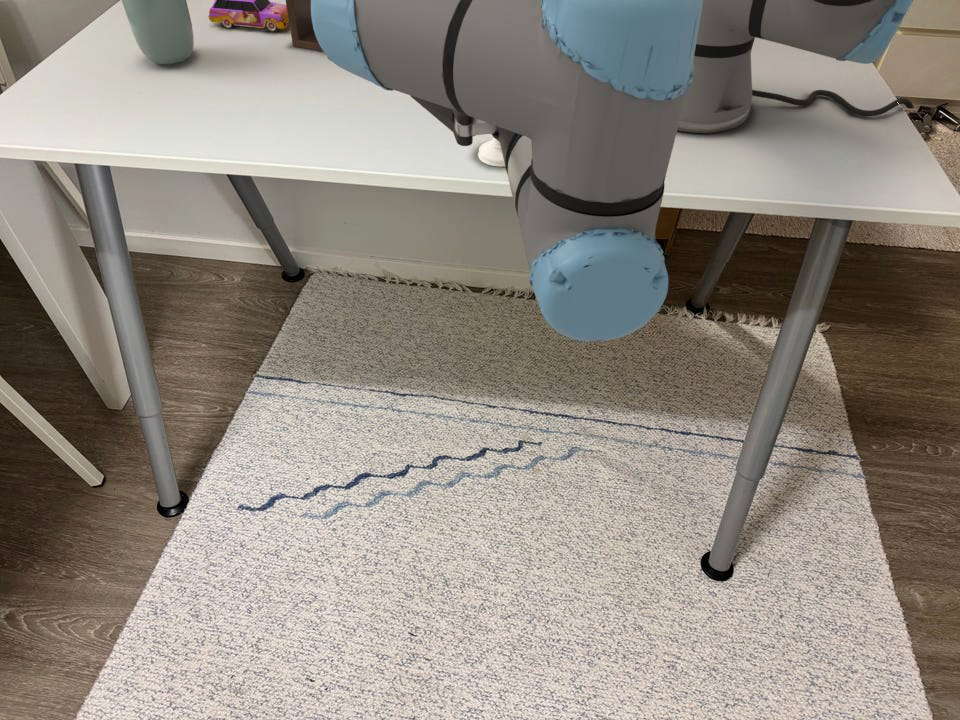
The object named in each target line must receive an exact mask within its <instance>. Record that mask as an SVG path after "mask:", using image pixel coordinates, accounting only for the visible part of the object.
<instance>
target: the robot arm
mask: <svg viewBox="0 0 960 720" xmlns="http://www.w3.org/2000/svg"><path fill="white" fill-rule="evenodd" d="M913 2H914V0H311V17H312V23H313V29H314V32H315V35H316V38H317V40H318V43H319V45H320V46H321V48H322V50H323V51H324V52H323V51H322V52H323V53H324V54H325V55H326V58H327V59H328V60H329V61H331V62H332V63H333V64H334V65H336V66H337V67H338V68H340V69H342V70H344V71H346V72H348V73H350V74H352V75H355V76H356V77H359V78H361V79H363V80H366V81H368V82H370V83H372V84H374V85H375V86H377V87H380V88H381V89H383V90H384V91H391V92H394V91H396V92H399V93H402V94H405V95H408V96H410V98H412V99H413V100H414V101H415V102H417V104H419V105H420V106H421V107H422V108H424V109H425V110H426V111H427V112H428V113H430V114H431V116H433V117H434V118H436V119H437V120H438V121H439V122H440V123H441V124H443V125H444V126H445V127H446V128H447V129H448V130H450V131H451V132H452V133H453V137H454V139H455V141H456V143H457V145H459V146H462V147H468V146H472V144H473V142H474V141H473V140H474V139H473V137H475V136H483V135H491V136H492V138H493V137H494V138H495V139H497V140H498V141H499V142H500V145H501V150H502V154H503V158H504V163H505V166H504V167H505V171H506V175H507V180H508V183H509V188H510V192H511V197H512V201H513V206H514V210H515V213H516V215H517V219H518V224H519V225H518V226H519V229H520V234H521V238H522V244H523V248H524V252H525V257H526V262H527V266H528V270H529V275H528V283H529V286H530V287H531V289H532V291H533V293H534V295H535V296H534V297H535V298H536V300H537V304H538V306H539V309H540V312H541V314H542V316H543V318H544V321H546V323H547V324H549V326H550V327H551V328H552V329H553V330H554V331H556V332H557V333H559V334H560V335H562V336H564V337H566V338H569V339H572V340H575V341H581V342H587V343H589V342H599V341H607V342H608V341H613V340H617V339H620V338H623V337H626V336H628V335H630V334H632V333H635V332H636V331H637V330H639V329H641V328H642V327H644V326H646V325H647V324H648V323H649V322H650V321H651V320H652V319H653V318H654V317H655V315H656V314H657V313H658V312H659V311H660V309H662V308H661V307H662V306H663V304H664V302H665V300H666V297H667V296H668V295H667V294H668V291H669V274H668V270H667V267H666V263H665V255H664V253H665V252H664V251H663V248H662V246H661V245H660V244H659V242H657V239H656V229H657V224H658V219H659V214H660V212H661V211H660V210H661V207H662V202H663V198H664V195H665V194H664V192H665V181H666V177H667V172H668V168H669V164H670V161H671V158H672V152H673V149H674V144H675V140H676V138H677V137H676V136H677V133H678V132H684V133H692V134H695V133H696V134H712V133H721V132H725V131H729V130H732V129H734V128H736V127H738V126H740V125H742V124H743V123H744V122H746V120H747V119H748V116H749V113H750V110H751V108H752V101H753V97H756V98H757V97H758V98H763V99H767V100H768V99H770V100H774V101H778V102H783V103H786V104H790V105H793V106H808V105H810V104H811V103H812V102H813V101H814V100H815V99H816V97H818V96H821V97H822V96H823V97H827V98H830V99H832V100H834V101H835V102H837V103H838V104H839V105H840V106H841V107H843V108H844V109H845V110H847V111H848V112H850V113H851V114H855V115H857V116H861V117H876V116H877V117H878V116H879V115H883V114H885V113H887V112H889V111H891V110H892V109H894V108H896V107H898V106H899V104H900V105H904V106H905V107H906V108H907V109H910V110H911V109H914V108H915V106H914V104H913V103H912V101H911V100H910V99H908V98H906V97H901V98H897V99H895V100H894V101H891V102H890V103H889V104H887V105H885V106H883V107H880V108H878V109H872V110H869V109H868V110H867V109H862V108H858V107H856V106H854V105H852V104H851V103H850V102H849V101H847V100H846V99H845V98H844V97H842V96H841V95H839V94H838V93H836V92H833V91H830V90H825V89H815V90H814V91H812V92H811V93H810V94H809V95H808V97H807V98H805V99H798V98H794V97H790V96H786V95H784V94H783V95H782V94H779V93H774V92H767V91H762V90H756V89H753V79H752V78H753V76H752V75H753V74H752V50H753V46H754V43H755V40H756V39H759V40H765V41H768V42H773V43H775V44H776V43H777V44H779V45H780V44H781V45H784V46H788V47H791V48H795V49H798V50H802V51H806V52H810V53H813V54H816V55H820V56H824V57H827V58H830V59H835V60H836V61H838V62H846V61H848V62H852V63H856V64H857V63H858V64H863V65H868V64H873V63H875V62H877V61H878V60H880V59H881V58H882V57H883V55H884V54H885V52H886V51H887V49H889V46H890V44H891V43H892V41H893V39H894V37H895V36H896V33H897V32H898V29H899V28H900V26H901V24H902V22H903V20H904V18H905V17H906V14H907V13H908V11H909V9H910V8H911V6H912V4H913ZM897 102H898V103H899V104H898V103H897Z"/></svg>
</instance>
